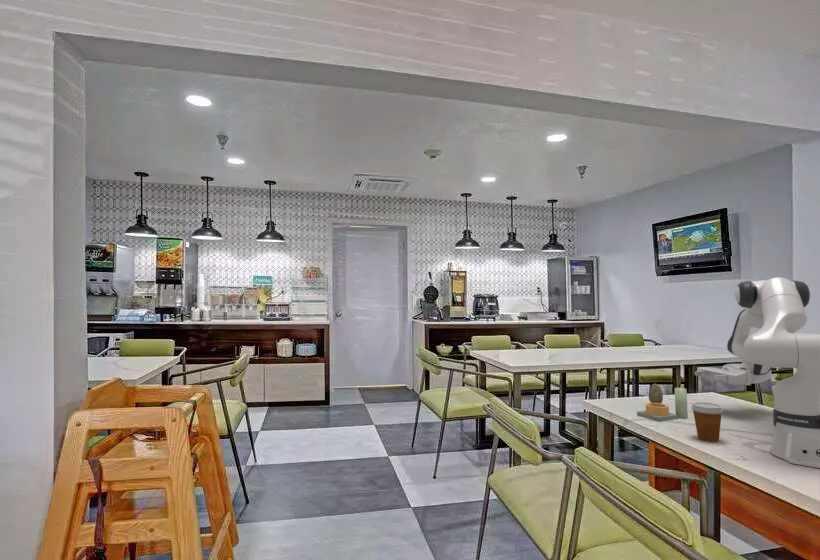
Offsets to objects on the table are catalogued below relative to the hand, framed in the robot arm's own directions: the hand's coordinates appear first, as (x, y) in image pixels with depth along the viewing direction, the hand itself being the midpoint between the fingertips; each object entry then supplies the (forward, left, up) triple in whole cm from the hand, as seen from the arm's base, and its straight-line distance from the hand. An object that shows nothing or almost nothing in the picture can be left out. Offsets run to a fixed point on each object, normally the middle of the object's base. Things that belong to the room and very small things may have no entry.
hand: (704, 375), depth 192 cm
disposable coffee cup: (-11, +36, -17) cm, 41 cm away
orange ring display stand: (+13, +18, -17) cm, 28 cm away
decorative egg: (+22, -4, -17) cm, 28 cm away
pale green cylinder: (+6, +11, -17) cm, 21 cm away
